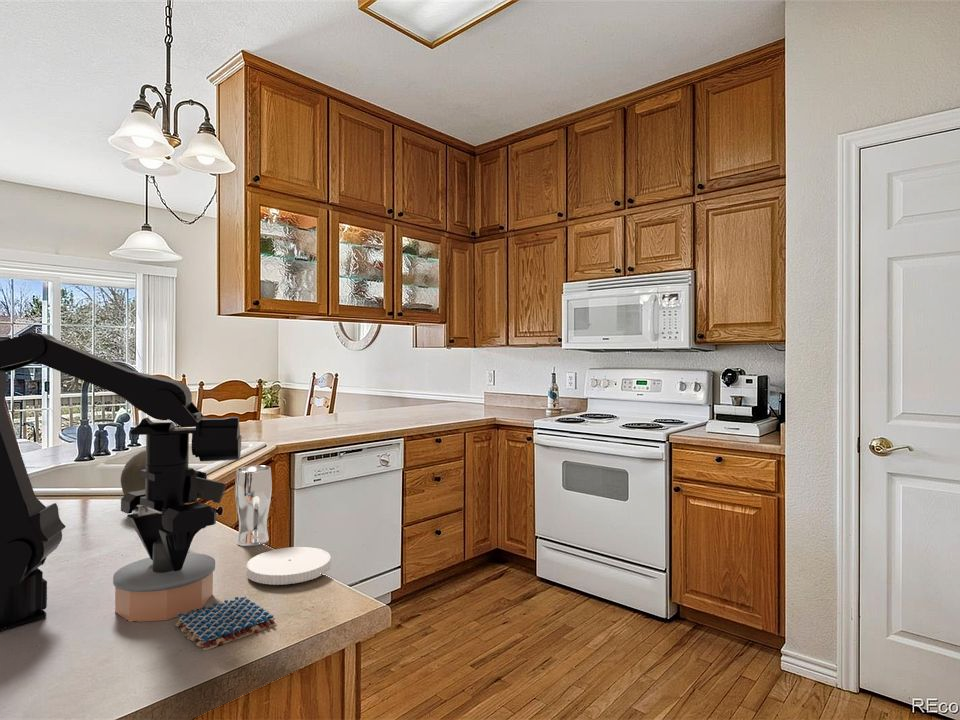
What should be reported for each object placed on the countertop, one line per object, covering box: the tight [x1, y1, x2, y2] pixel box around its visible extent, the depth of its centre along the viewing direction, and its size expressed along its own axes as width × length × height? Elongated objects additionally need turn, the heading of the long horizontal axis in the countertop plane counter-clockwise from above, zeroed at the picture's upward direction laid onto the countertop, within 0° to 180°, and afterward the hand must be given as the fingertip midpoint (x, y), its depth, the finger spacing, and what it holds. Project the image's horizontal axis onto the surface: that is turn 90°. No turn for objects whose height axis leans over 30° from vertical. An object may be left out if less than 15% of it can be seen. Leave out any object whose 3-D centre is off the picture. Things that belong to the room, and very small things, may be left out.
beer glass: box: [234, 465, 273, 548], centre depth 115 cm, size 7×7×15 cm
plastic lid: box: [246, 546, 332, 586], centre depth 99 cm, size 14×14×2 cm
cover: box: [112, 540, 216, 592], centre depth 86 cm, size 14×14×5 cm
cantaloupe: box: [120, 450, 146, 496], centre depth 135 cm, size 14×14×15 cm
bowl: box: [114, 571, 214, 623], centre depth 86 cm, size 12×12×4 cm
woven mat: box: [175, 596, 277, 651], centre depth 79 cm, size 10×11×2 cm
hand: (166, 564), depth 86 cm, fingers open, 7 cm apart
